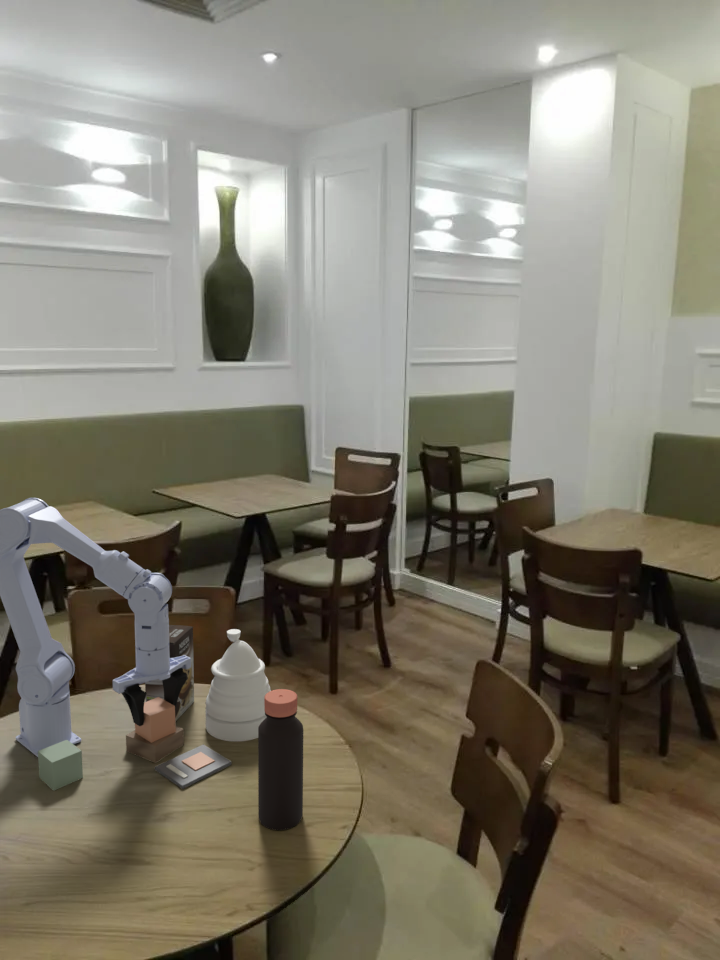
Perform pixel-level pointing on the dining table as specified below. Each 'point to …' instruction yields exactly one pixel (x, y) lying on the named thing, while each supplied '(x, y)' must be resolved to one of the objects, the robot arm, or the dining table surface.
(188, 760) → the card
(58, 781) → the sage block
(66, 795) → the dining table surface
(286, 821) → the bottle
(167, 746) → the walnut base
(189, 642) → the coffee box
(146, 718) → the terracotta block
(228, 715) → the honey pot
